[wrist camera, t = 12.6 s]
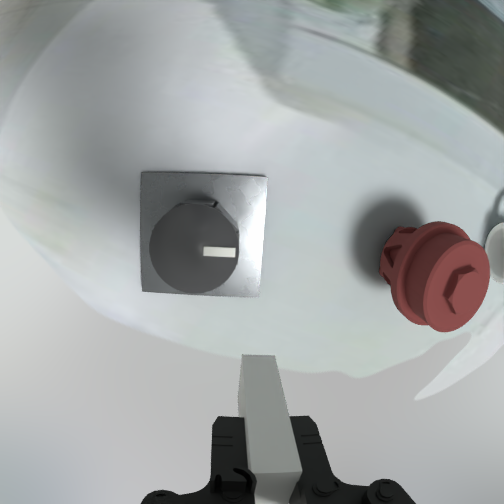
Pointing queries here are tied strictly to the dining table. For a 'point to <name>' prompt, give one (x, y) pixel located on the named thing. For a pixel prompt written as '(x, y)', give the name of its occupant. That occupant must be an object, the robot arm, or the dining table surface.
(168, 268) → the knob
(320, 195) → the dining table surface
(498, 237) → the mug
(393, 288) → the mechanical component
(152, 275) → the metal plate
